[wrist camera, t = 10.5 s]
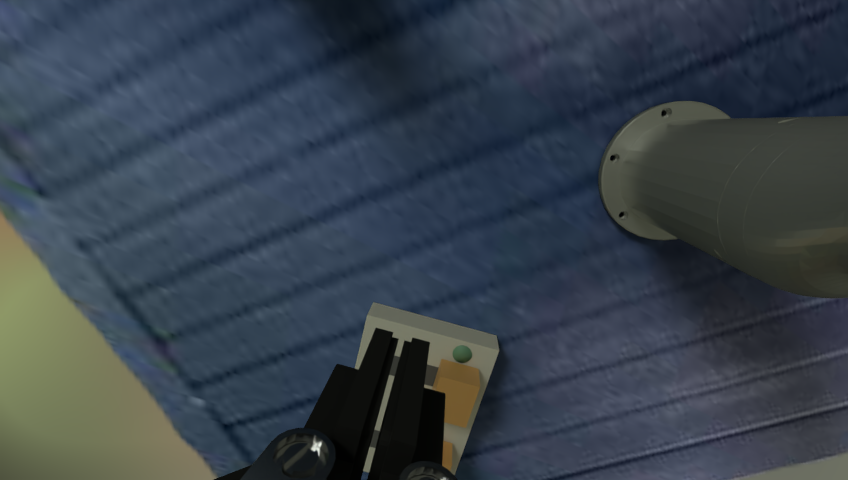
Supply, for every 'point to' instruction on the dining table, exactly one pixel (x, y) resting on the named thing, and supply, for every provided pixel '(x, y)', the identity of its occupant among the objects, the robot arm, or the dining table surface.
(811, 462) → the dining table surface
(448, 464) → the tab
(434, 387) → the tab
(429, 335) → the switch panel
